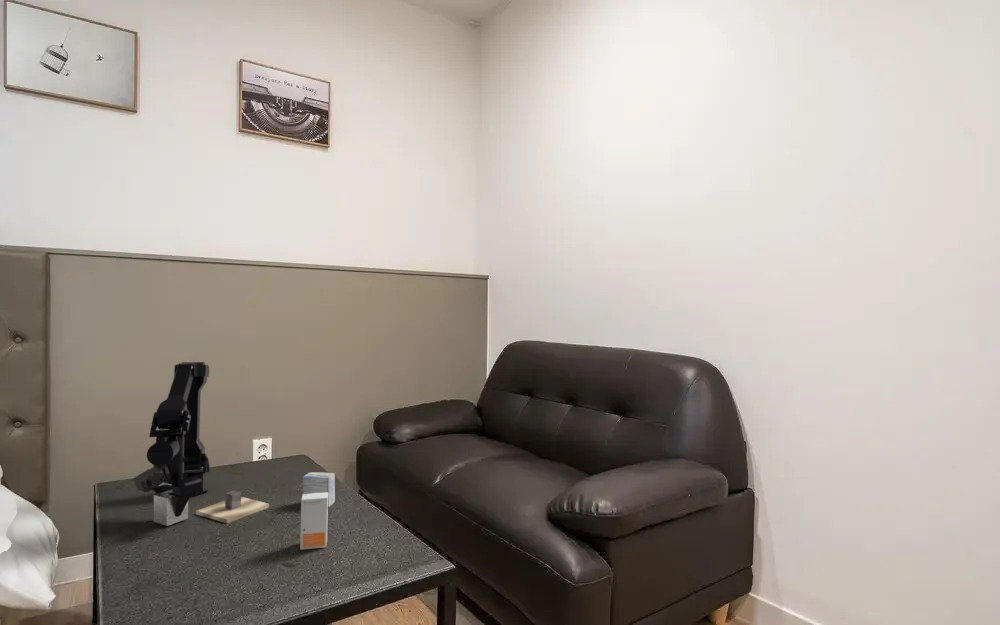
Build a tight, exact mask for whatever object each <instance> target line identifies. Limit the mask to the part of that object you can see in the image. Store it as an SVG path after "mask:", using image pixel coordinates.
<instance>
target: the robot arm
mask: <svg viewBox="0 0 1000 625" xmlns="http://www.w3.org/2000/svg"><path fill="white" fill-rule="evenodd" d="M209 376H210V365H207V364H206V363H205V361H190V362H189V361H183V362H179V363H177V364H175V365H174V369H173V380H172V382H171V386H170V388H169V392H168V395H167V398H166V399H165V400H163V401H162V402H160V403H159V405H158V407H157V409H156V411H155V412H154V413H153V416H152V422H151V427H150V430H149V431H150V432H149V438H156V439H155V442H154V443H153V444H152V445H151V446H150V447H148V450H147V452H146V458H147V461H148V462H149V463H150V464H151V465H152V466H153V467H150V468H149V469H147V470H145V471H143V472H141V473H140V474H138V475H137V476H135V477H133V479H132V481H133V483H134V485H135V487H136V490H137V491H142V492H143V493H149V492H152V493H154V495H155V494H158V493H162V492H165V491H169V490H172V491H173V492H171V493H168V495H170V496H171V497H173V500H174V510H175V516H176V517H178V516H180V515H181V514H182V512H183V510H184V508H185V506H186V504H187V502H188V503H189V500H190V499H191V498H192V497H195V496H199V495H201V494H205V493H207V492H209V490H208V489H206V488H205V486H204V485H205V484H204V483H205V482H204V475H206V474H207V473H210V471H211V467H210V466H211V465H210V459H209V457H208V454H207V453H206V446H205V445H204V444H203V442H202V441H201V439H200V428H201V427H200V425H201V423H200V422H201V421H200V420H201V397H202V396H201V395H202V394H201V391H202V390H203V388H204V387H205V385H206V384H207V381H208V377H209Z"/></svg>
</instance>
